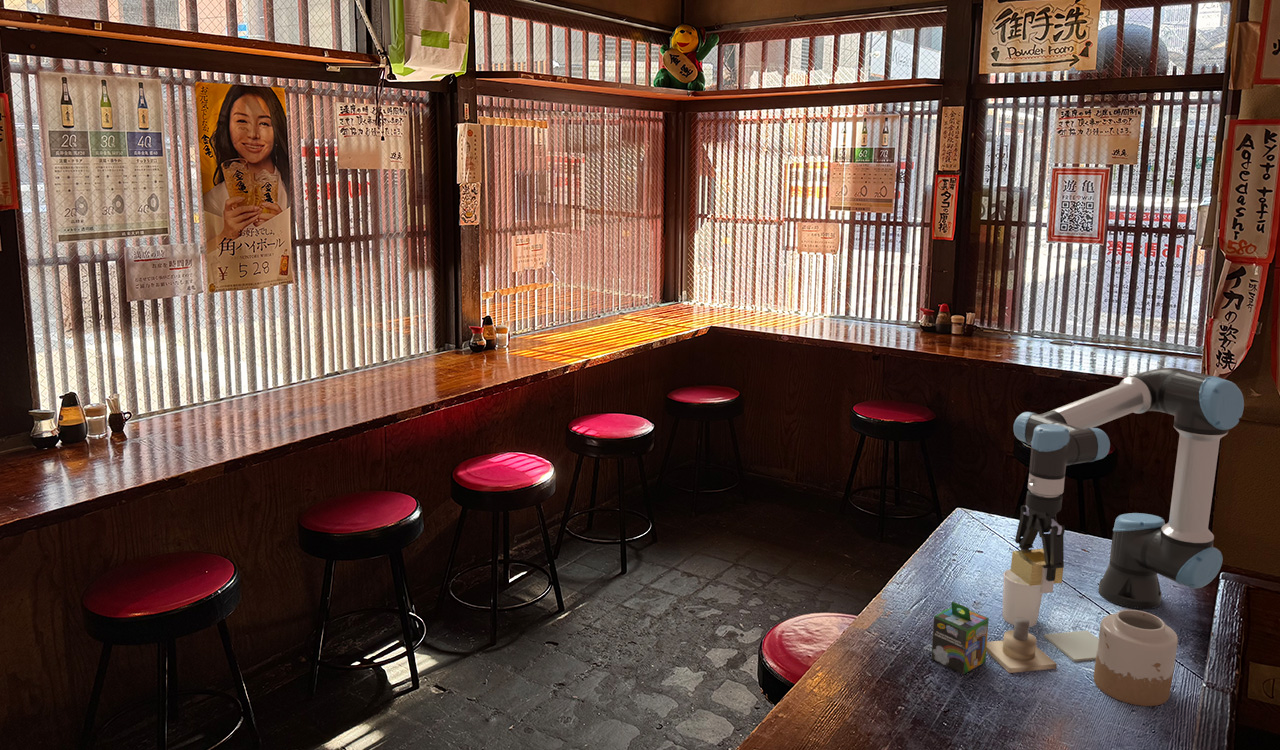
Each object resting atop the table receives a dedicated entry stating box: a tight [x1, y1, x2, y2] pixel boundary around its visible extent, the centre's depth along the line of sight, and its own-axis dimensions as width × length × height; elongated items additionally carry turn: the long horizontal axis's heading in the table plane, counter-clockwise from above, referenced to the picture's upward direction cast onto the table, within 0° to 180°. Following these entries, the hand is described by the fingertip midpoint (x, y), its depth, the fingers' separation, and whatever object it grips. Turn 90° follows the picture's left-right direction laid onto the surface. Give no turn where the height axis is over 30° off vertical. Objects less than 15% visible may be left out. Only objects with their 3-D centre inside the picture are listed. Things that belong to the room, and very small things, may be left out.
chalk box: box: [931, 601, 990, 675], centre depth 219 cm, size 9×9×15 cm
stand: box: [986, 618, 1058, 674], centre depth 221 cm, size 12×12×10 cm
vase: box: [1093, 609, 1179, 707], centre depth 208 cm, size 15×15×17 cm
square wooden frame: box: [1010, 548, 1065, 586], centre depth 218 cm, size 8×8×5 cm
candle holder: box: [1002, 568, 1044, 628], centre depth 239 cm, size 10×10×12 cm
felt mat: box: [1043, 630, 1099, 663], centre depth 227 cm, size 12×12×1 cm
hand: (1035, 583), depth 219 cm, fingers closed on square wooden frame, 8 cm apart
